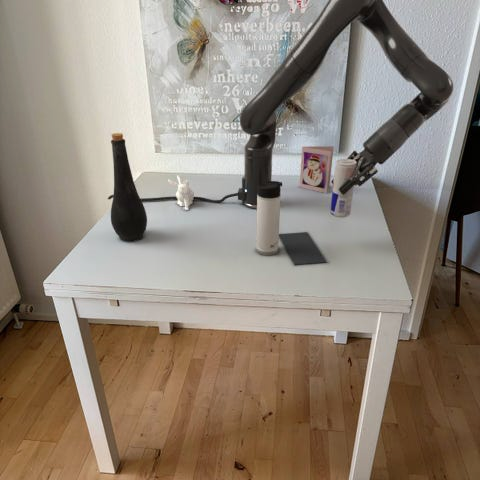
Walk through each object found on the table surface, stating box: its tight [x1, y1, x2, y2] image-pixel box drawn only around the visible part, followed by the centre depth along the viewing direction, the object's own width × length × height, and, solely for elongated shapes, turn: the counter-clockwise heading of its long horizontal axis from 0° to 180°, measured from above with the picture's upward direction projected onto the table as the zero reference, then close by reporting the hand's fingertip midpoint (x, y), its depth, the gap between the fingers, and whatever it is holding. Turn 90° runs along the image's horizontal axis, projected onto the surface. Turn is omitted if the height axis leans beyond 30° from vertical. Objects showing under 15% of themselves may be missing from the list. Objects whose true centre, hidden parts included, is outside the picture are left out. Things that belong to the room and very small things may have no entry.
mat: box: [279, 231, 327, 266], centre depth 142 cm, size 20×9×1 cm, turn 9°
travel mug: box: [256, 180, 283, 256], centre depth 135 cm, size 6×7×20 cm
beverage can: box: [329, 158, 357, 218], centre depth 134 cm, size 6×6×15 cm
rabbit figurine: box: [167, 175, 195, 211], centre depth 169 cm, size 12×8×10 cm, turn 170°
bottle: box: [110, 132, 148, 243], centre depth 140 cm, size 11×11×30 cm
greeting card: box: [299, 146, 335, 194], centre depth 180 cm, size 11×7×15 cm, turn 55°
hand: (337, 188), depth 133 cm, fingers closed on beverage can, 5 cm apart
